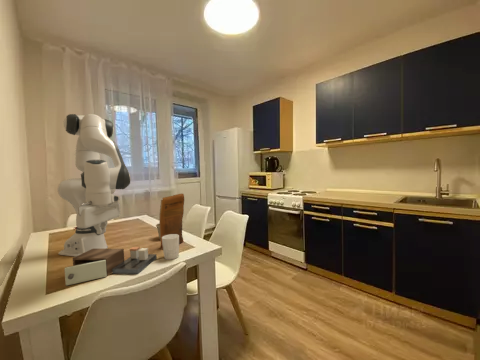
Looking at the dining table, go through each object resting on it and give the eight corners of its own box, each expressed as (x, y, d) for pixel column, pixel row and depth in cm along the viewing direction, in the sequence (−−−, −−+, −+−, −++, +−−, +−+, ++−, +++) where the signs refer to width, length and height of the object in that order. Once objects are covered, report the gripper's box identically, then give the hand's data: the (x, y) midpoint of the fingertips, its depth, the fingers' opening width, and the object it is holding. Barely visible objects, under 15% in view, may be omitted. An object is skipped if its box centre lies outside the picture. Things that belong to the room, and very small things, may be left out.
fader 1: (130, 258, 102) (129, 249, 102) (134, 256, 105) (133, 246, 105) (136, 258, 102) (135, 249, 102) (140, 256, 105) (139, 246, 105)
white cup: (170, 261, 103) (169, 239, 102) (159, 258, 107) (158, 237, 106) (183, 255, 109) (182, 235, 109) (172, 252, 114) (171, 233, 113)
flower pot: (169, 240, 134) (168, 225, 134) (154, 240, 134) (153, 226, 134) (174, 235, 144) (173, 222, 143) (159, 236, 144) (159, 222, 143)
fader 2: (138, 260, 100) (138, 250, 100) (142, 257, 103) (141, 248, 103) (145, 260, 100) (144, 250, 99) (148, 257, 103) (148, 248, 102)
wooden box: (73, 274, 93) (72, 258, 92) (94, 263, 104) (93, 248, 103) (107, 275, 91) (106, 258, 91) (124, 263, 102) (123, 248, 102)
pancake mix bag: (190, 240, 132) (188, 193, 131) (164, 251, 116) (161, 197, 114) (182, 239, 136) (179, 192, 134) (155, 249, 119) (152, 196, 118)
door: (65, 287, 82) (63, 269, 82) (66, 284, 84) (65, 267, 84) (106, 277, 88) (105, 261, 88) (106, 275, 91) (105, 259, 90)
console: (112, 273, 92) (112, 268, 92) (134, 258, 108) (134, 253, 108) (137, 274, 91) (137, 269, 91) (156, 258, 107) (156, 254, 107)
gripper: (85, 204, 81) (88, 241, 82) (122, 196, 101) (124, 226, 102) (69, 204, 82) (72, 241, 82) (109, 196, 102) (111, 226, 103)
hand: (101, 233), depth 92 cm, fingers closed
